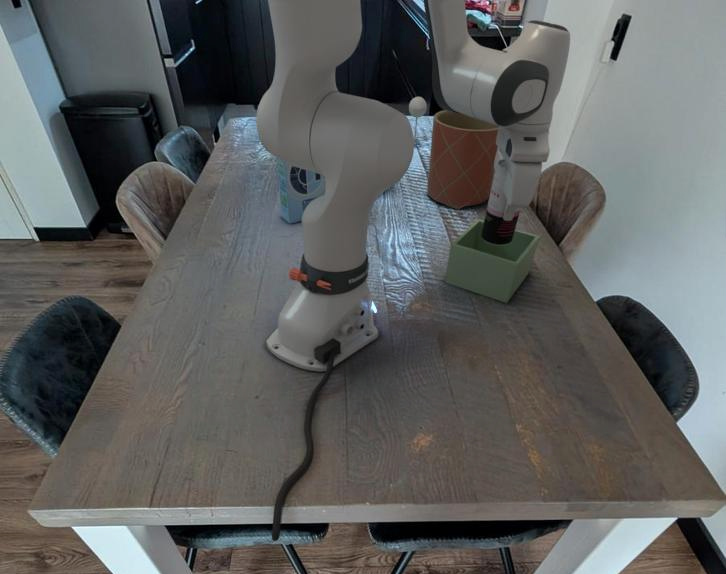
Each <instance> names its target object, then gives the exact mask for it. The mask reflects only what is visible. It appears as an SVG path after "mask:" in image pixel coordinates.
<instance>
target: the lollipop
mask: <svg viewBox="0 0 726 574" xmlns="http://www.w3.org/2000/svg"><path fill="white" fill-rule="evenodd" d="M427 108H428V104H427V102H426V100H425V99H424V98H423V97H422V96H415V97H413V98H412V99H411V100H410V102H409V104H408V112H409V114H410V115H411V116H412V117H413V118H415V125H414V133H413V136H414V148H415V147H416V139H417V138H416V137H417V128H418V118H421V117H423V116H424V115H425V114H426V112H427Z"/></svg>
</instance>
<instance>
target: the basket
mask: <svg viewBox="0 0 726 574" xmlns="http://www.w3.org/2000/svg"><path fill="white" fill-rule="evenodd" d="M483 224H484V219H480V218H477V219H476V220H475V221H474V222H473V223H472V224H471V225H469V227H468V228H467V229H465V230H464V231H463V232H462V233H461V234H460V235H459V236H458V237H457V238H456V239H455V240H454V241H453V242H452V243H451V244H450V246H449V247H450V248H449V255H448V258H447V259H448V260H447V265H446V271H445V278H444V283H446V284H449V285H451V286H455V287H458V288H461V289H464V290H467V291H470V292H472V293H475V294H478V295H481V296H484V297H487V298H490V299H493V300H496V301H499V302H502V303H505V304H506V303H508V302H509V301H510V299H511V298H512V297H513V295H514V294H515V293H516V291H517V290H518V289H519V287H520V286H521V285H522V283H523V282H524V280H525V279H526V278H527V276H528V275H529V273H530V270H531V267H532V264H533V262H534V261H533V260H534V257H535V255H536V251H537V248H538V245H539V241H540V238H541V236H540V235H537V234H534V233H530V232H526V231H523V230H520V229H517V228H515V232H514V235H513V239H512V241H511V242H510V243H508V244H507V245H503V246H495V245H491V244H488V243H486V242H485V241H484V240H483V239H482V237H481V234H482V229H483Z"/></svg>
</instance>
